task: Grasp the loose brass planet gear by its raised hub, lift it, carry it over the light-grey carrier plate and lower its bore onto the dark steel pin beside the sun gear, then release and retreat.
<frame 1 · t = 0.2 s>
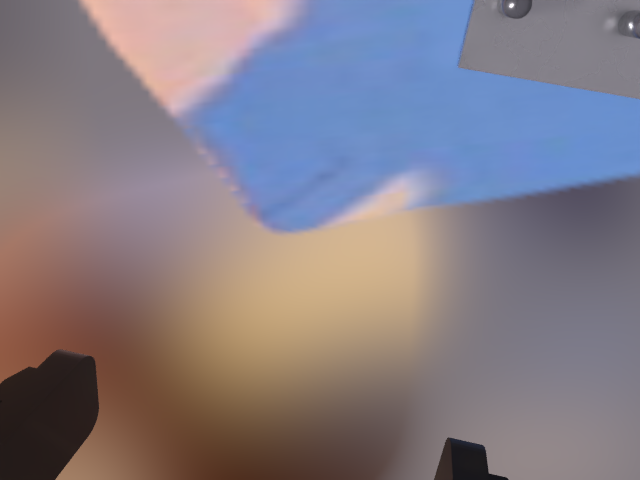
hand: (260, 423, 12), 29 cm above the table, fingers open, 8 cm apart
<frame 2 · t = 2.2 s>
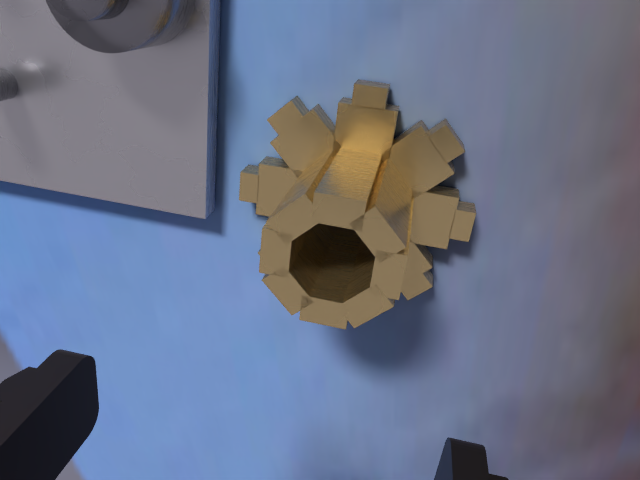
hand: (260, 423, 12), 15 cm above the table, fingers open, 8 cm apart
planet gear: (356, 197, 25), on the table
carrier: (75, 45, 25), on the table
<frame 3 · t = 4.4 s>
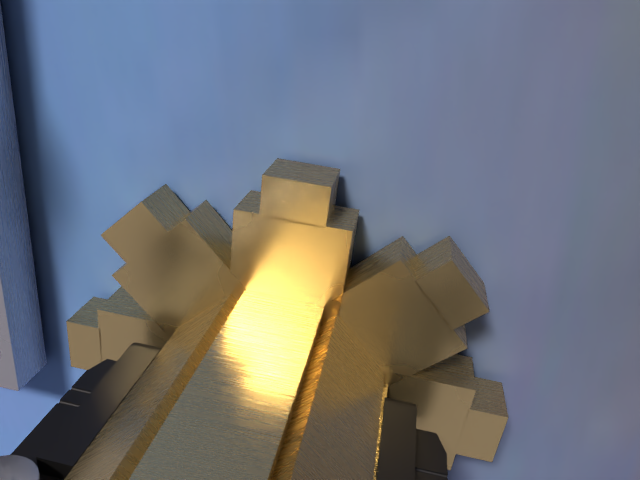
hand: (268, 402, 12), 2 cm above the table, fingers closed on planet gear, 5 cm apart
planet gear: (286, 359, 14), on the table, touching gripper
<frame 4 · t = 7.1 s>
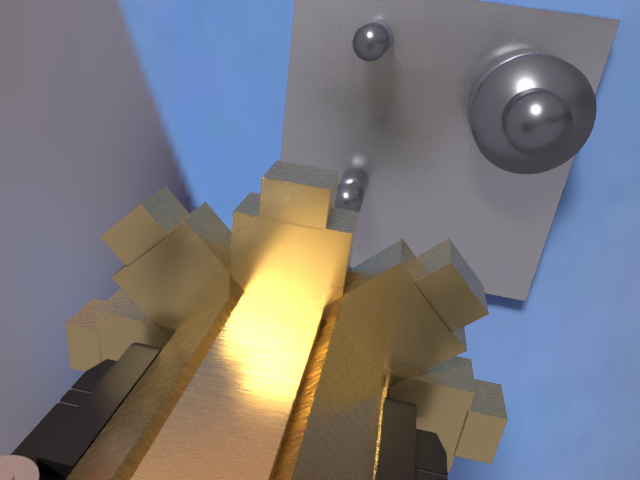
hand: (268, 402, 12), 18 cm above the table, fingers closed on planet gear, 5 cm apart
planet gear: (285, 361, 14), point 16 cm above the table, touching gripper
carrier: (421, 146, 27), on the table
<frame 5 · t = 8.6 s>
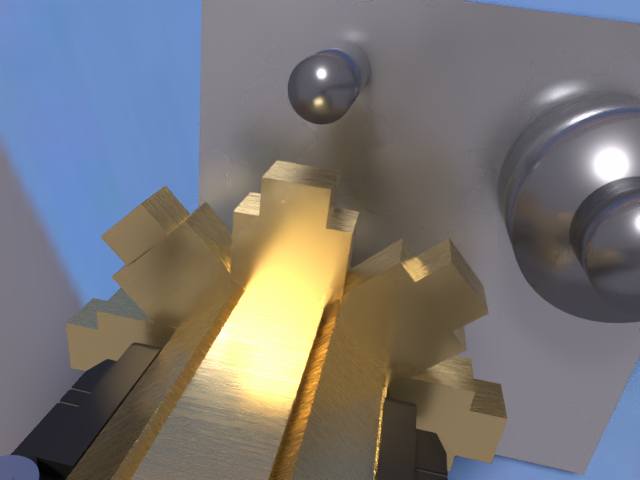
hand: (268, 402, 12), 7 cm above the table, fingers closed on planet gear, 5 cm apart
planet gear: (285, 361, 14), point 5 cm above the table, touching gripper
carrier: (420, 239, 17), on the table
when the fingers open (4 cm above the table, at t = 10.0 s): planet gear stays where it is, resting on carrier.
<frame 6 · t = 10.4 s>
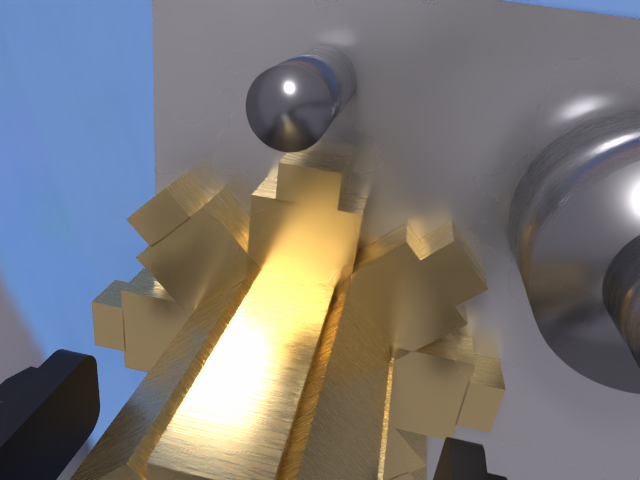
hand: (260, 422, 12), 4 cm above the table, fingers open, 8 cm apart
planet gear: (297, 338, 15), point 1 cm above the table, touching carrier
carrier: (416, 275, 15), on the table
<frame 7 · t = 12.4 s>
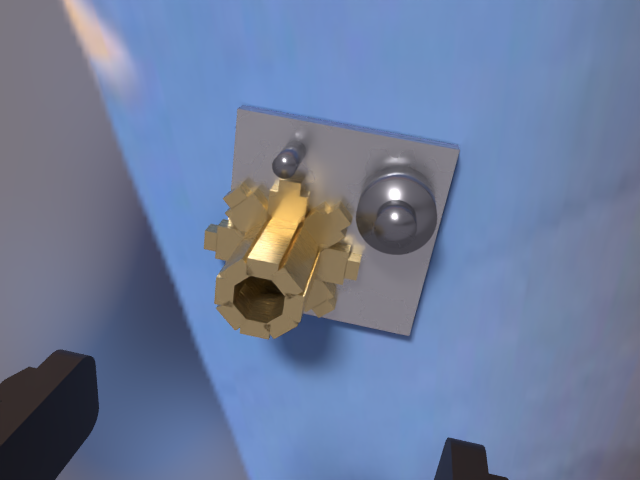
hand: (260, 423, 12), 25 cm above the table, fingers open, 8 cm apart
planet gear: (284, 248, 37), point 1 cm above the table, touching carrier
carrier: (331, 223, 37), on the table
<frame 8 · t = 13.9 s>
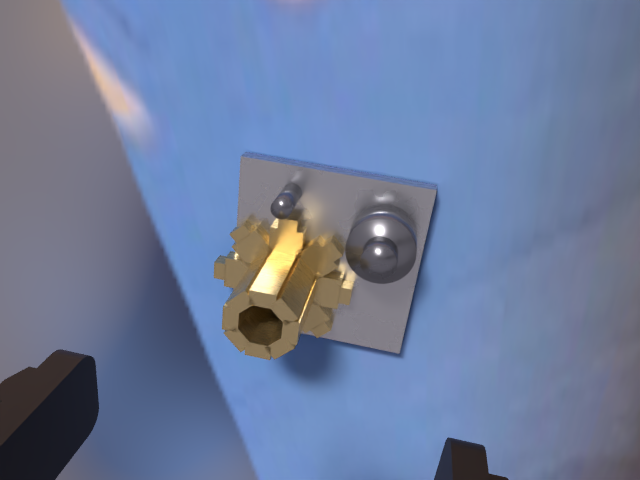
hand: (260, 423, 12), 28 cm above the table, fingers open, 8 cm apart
planet gear: (285, 276, 42), point 1 cm above the table, touching carrier
carrier: (327, 253, 42), on the table
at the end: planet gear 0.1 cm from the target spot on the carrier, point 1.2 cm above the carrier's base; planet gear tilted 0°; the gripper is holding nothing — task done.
